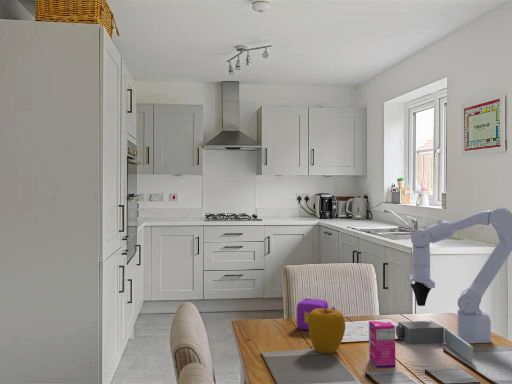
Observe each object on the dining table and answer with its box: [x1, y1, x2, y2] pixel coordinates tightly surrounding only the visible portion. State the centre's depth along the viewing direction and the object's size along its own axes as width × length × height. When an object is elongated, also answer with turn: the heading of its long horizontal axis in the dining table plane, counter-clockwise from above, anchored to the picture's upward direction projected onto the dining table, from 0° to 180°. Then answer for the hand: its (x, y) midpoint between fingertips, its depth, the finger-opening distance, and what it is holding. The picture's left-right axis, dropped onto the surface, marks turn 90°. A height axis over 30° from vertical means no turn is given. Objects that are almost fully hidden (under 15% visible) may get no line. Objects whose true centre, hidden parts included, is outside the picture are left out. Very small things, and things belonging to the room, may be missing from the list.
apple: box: [308, 308, 346, 355], centre depth 145 cm, size 11×11×13 cm
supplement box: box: [368, 319, 397, 369], centre depth 134 cm, size 6×6×12 cm
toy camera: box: [296, 296, 336, 331], centre depth 169 cm, size 11×14×10 cm
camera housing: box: [395, 320, 445, 346], centre depth 156 cm, size 13×8×6 cm, turn 99°
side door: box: [444, 327, 474, 363], centre depth 144 cm, size 18×1×4 cm, turn 0°
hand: (421, 305), depth 163 cm, fingers closed
